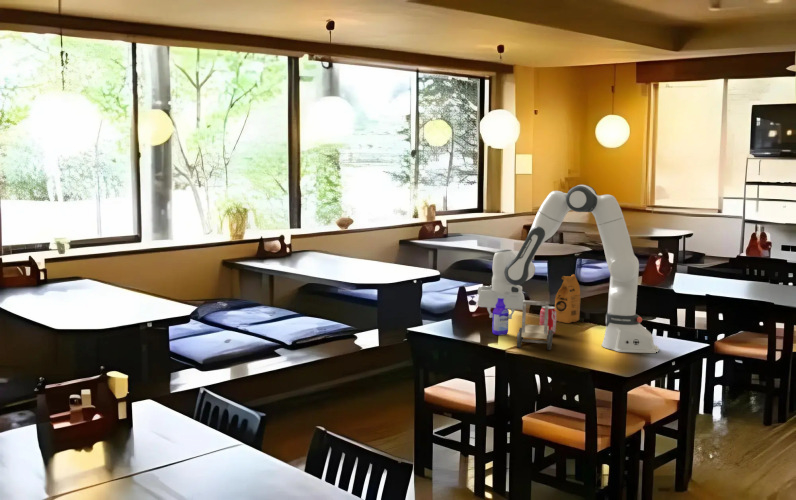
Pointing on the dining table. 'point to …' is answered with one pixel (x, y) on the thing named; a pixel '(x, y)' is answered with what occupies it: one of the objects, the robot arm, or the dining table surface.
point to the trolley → (535, 327)
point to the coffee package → (568, 300)
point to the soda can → (549, 318)
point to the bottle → (500, 318)
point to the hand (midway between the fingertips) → (500, 318)
